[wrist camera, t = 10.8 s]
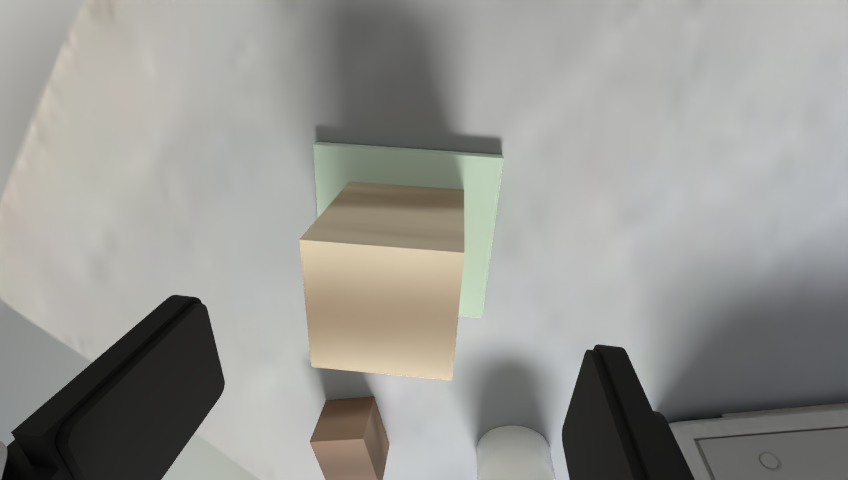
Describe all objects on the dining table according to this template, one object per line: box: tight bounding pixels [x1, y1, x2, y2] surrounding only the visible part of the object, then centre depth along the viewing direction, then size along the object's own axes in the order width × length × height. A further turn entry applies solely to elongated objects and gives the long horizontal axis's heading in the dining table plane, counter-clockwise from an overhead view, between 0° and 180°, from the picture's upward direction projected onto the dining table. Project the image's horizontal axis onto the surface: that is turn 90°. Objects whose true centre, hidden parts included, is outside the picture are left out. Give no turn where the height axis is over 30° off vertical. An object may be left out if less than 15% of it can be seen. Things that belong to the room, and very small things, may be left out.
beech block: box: [299, 182, 464, 381], centre depth 16 cm, size 5×5×6 cm
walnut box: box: [310, 397, 389, 480], centre depth 24 cm, size 4×3×3 cm
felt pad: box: [313, 142, 504, 318], centre depth 19 cm, size 8×8×1 cm
